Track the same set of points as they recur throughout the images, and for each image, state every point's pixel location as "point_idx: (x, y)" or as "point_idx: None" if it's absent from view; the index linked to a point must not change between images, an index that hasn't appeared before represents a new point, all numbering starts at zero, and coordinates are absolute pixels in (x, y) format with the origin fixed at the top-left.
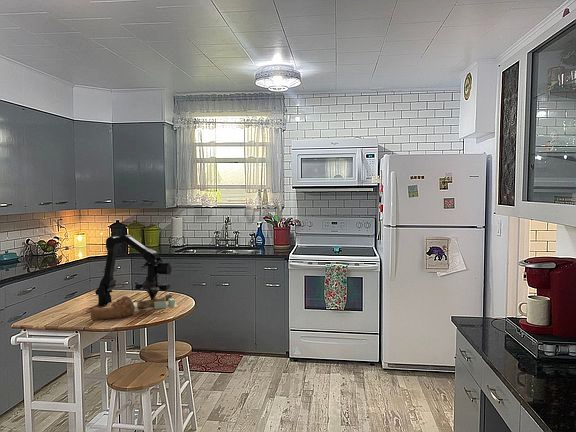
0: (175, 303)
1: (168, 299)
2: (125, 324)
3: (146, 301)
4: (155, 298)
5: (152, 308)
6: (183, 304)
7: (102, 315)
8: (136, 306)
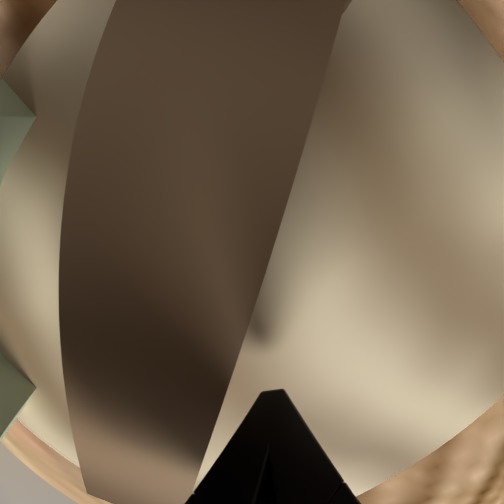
0: (22, 422)
1: (2, 432)
2: None
3: (158, 20)
4: (187, 459)
5: (41, 71)
6: (26, 440)
7: None
8: (475, 107)
